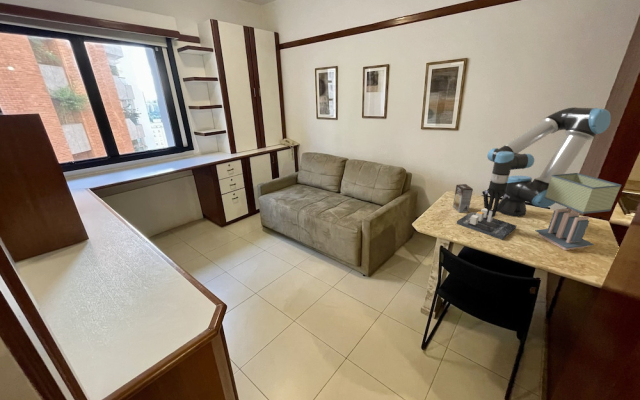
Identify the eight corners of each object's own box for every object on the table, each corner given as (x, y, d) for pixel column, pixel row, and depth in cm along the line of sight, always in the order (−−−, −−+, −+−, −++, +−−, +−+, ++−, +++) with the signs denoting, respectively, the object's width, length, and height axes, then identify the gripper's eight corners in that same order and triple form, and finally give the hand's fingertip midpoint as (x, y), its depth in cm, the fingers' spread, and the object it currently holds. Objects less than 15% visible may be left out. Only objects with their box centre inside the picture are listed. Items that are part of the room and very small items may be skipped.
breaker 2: (482, 214, 153) (483, 208, 152) (487, 216, 151) (489, 209, 150) (479, 216, 152) (481, 209, 150) (485, 218, 150) (486, 211, 148)
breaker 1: (472, 221, 146) (473, 214, 145) (477, 223, 144) (479, 216, 142) (469, 223, 145) (470, 216, 143) (475, 225, 143) (476, 218, 141)
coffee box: (452, 206, 172) (455, 184, 166) (461, 206, 172) (465, 183, 165) (458, 212, 163) (463, 189, 157) (469, 212, 163) (473, 188, 157)
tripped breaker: (477, 218, 150) (478, 211, 148) (482, 219, 148) (484, 212, 146) (475, 219, 148) (476, 212, 146) (480, 221, 146) (482, 214, 144)
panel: (470, 214, 160) (471, 211, 159) (515, 228, 142) (516, 225, 141) (456, 223, 150) (457, 220, 149) (502, 240, 132) (503, 236, 131)
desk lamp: (532, 233, 137) (551, 175, 124) (556, 230, 138) (577, 172, 125) (567, 252, 120) (592, 187, 107) (594, 249, 121) (622, 184, 108)
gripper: (482, 180, 137) (474, 219, 146) (510, 186, 127) (499, 227, 137) (488, 177, 141) (480, 215, 150) (516, 182, 131) (505, 223, 140)
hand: (489, 221), depth 143 cm, fingers closed
